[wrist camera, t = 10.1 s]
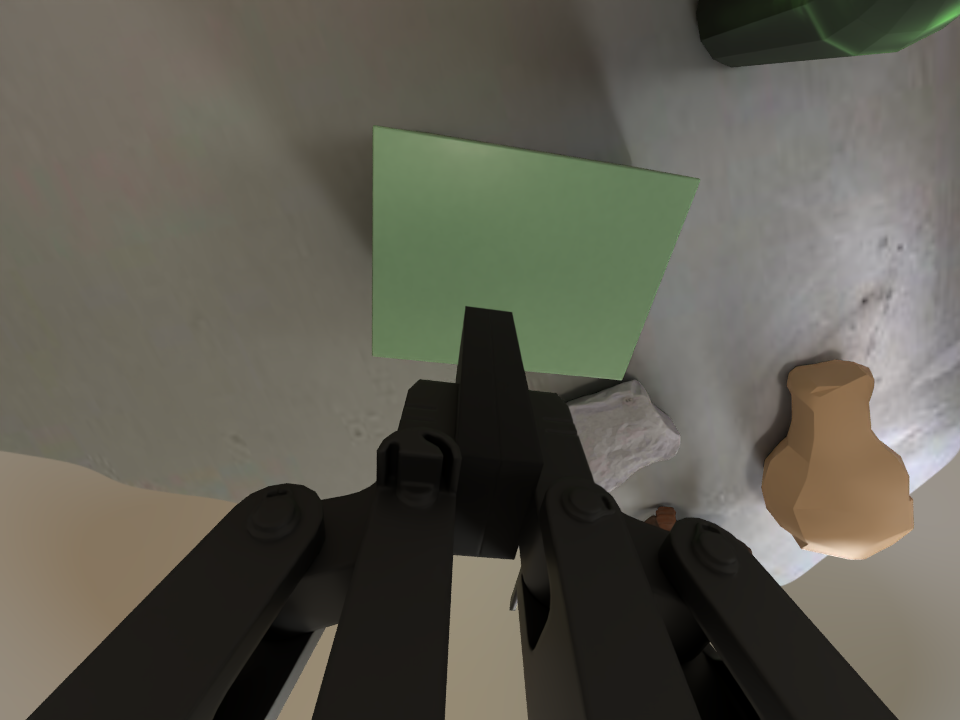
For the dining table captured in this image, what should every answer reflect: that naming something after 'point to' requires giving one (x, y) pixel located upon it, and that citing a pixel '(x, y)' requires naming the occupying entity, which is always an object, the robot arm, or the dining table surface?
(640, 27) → the dining table surface
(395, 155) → the chest lid
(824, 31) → the potion bottle
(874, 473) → the squash
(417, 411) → the robot arm
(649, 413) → the stone block
